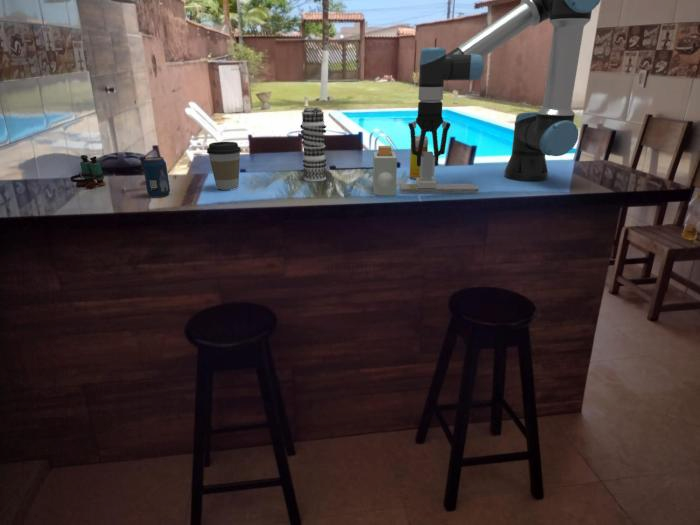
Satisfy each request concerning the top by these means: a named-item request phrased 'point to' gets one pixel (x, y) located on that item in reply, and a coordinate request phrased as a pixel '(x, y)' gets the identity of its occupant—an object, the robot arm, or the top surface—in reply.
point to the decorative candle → (313, 144)
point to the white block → (384, 174)
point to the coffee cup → (225, 164)
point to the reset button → (384, 150)
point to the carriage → (427, 172)
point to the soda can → (156, 177)
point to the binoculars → (89, 173)
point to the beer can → (413, 158)
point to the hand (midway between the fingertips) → (426, 175)
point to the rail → (440, 188)
